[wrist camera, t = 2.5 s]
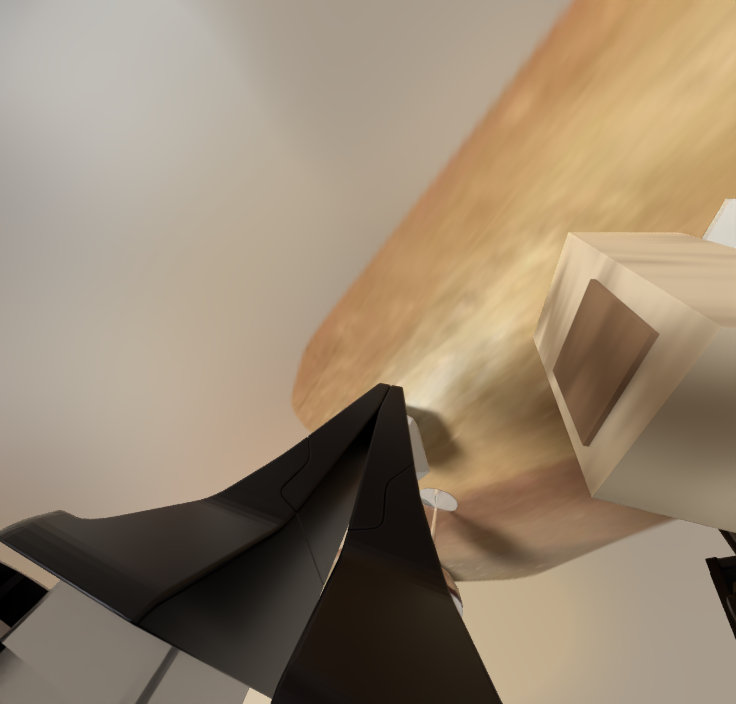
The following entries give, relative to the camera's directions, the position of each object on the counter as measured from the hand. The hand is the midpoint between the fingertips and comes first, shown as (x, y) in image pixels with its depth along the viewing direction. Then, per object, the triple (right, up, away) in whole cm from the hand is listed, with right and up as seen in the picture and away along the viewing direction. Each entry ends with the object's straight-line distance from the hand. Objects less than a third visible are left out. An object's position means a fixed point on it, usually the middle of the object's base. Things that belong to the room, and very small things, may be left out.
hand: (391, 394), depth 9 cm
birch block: (+13, +5, +7) cm, 16 cm away
